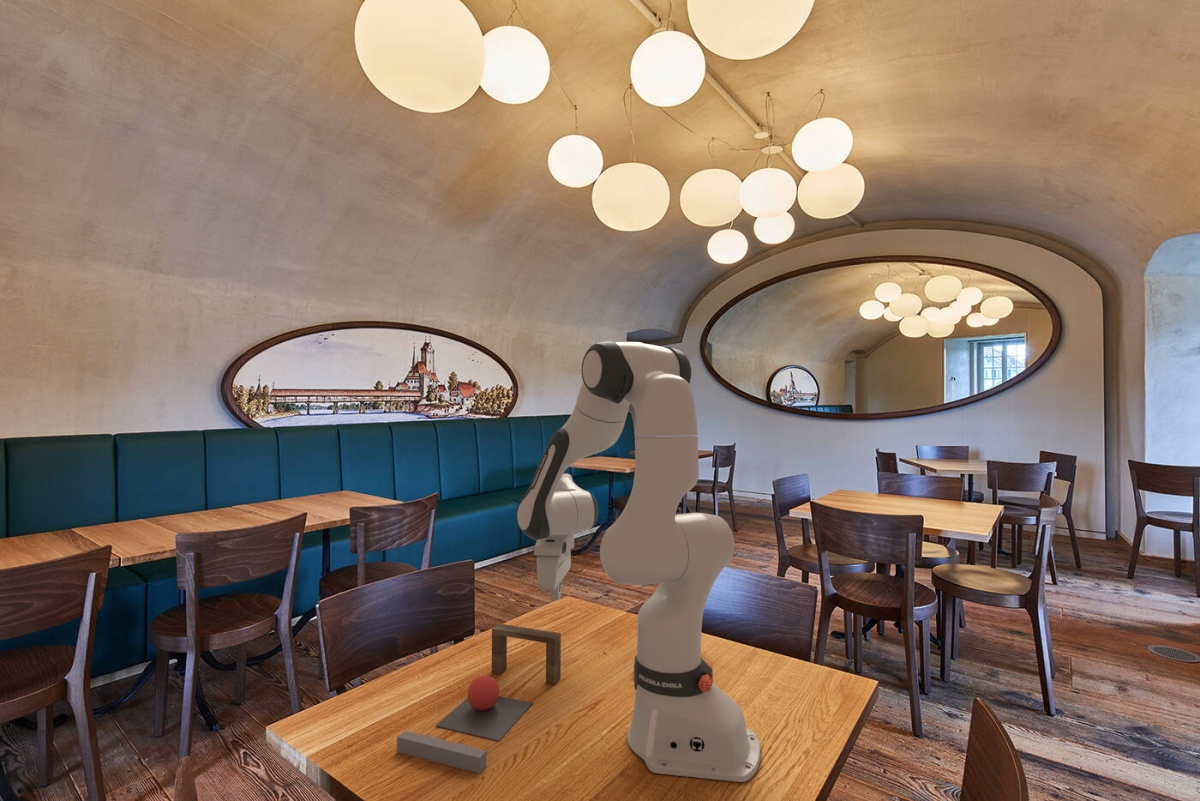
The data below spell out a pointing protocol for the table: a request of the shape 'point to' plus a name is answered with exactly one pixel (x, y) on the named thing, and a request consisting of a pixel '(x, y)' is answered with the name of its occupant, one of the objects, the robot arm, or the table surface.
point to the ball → (483, 693)
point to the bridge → (549, 638)
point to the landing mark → (486, 718)
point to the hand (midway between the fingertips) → (556, 598)
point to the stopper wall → (442, 751)
